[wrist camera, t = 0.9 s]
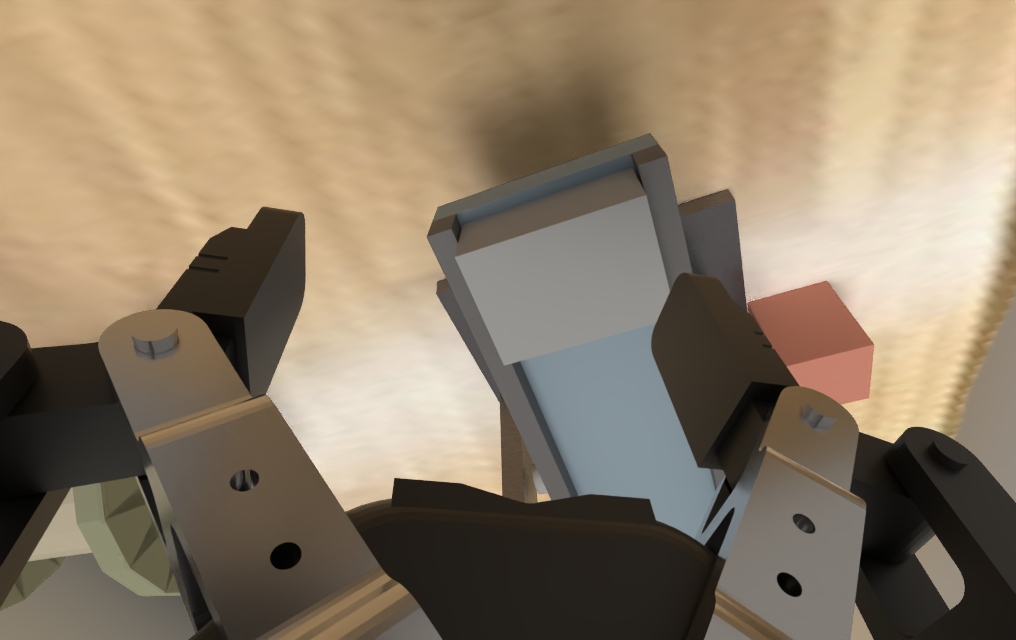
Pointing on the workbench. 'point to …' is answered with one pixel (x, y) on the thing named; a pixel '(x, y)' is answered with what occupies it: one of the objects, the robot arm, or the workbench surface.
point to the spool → (102, 541)
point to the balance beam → (581, 322)
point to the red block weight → (818, 340)
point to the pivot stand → (709, 254)
